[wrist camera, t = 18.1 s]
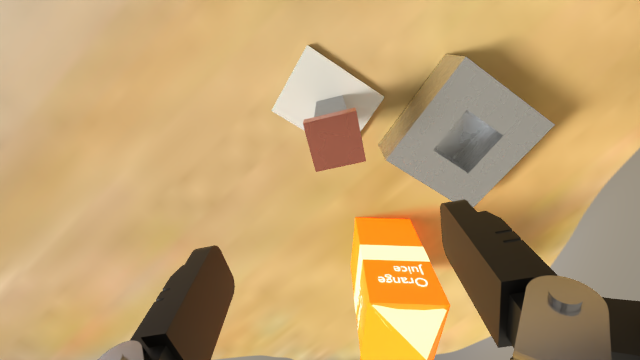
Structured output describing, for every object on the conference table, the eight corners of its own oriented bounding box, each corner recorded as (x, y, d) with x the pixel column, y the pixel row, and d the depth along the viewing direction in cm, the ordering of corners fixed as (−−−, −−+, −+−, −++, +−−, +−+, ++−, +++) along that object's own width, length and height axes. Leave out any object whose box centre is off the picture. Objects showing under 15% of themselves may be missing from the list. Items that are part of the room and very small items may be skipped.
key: (309, 97, 33) (302, 123, 23) (346, 88, 32) (356, 110, 22) (318, 133, 35) (315, 171, 24) (353, 124, 34) (366, 160, 24)
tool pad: (272, 109, 34) (271, 110, 34) (307, 44, 31) (307, 45, 31) (344, 152, 36) (344, 154, 36) (383, 95, 33) (384, 97, 33)
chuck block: (378, 144, 36) (385, 160, 31) (445, 54, 31) (465, 56, 27) (452, 191, 38) (469, 211, 34) (524, 113, 34) (555, 124, 29)
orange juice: (410, 218, 40) (479, 363, 22) (401, 268, 44) (453, 426, 26) (353, 216, 40) (377, 359, 22) (349, 266, 44) (365, 422, 26)
